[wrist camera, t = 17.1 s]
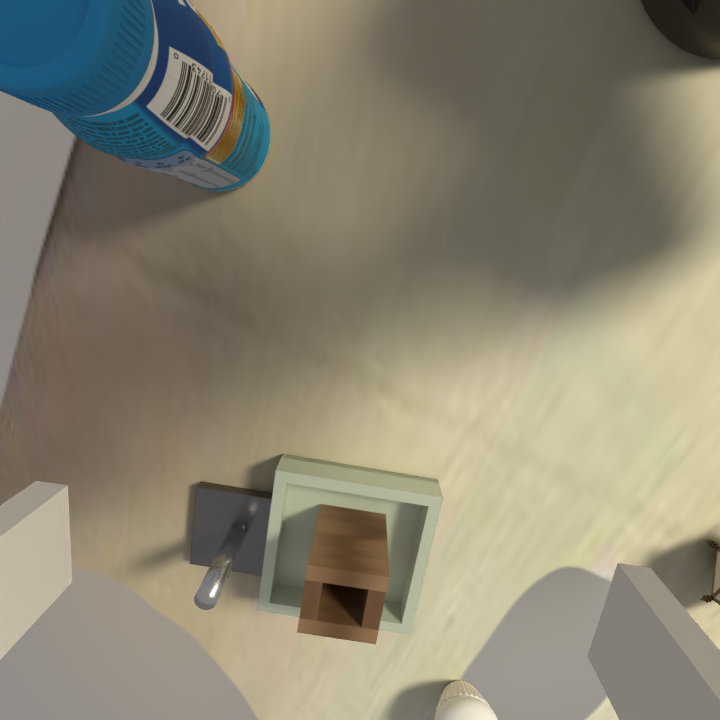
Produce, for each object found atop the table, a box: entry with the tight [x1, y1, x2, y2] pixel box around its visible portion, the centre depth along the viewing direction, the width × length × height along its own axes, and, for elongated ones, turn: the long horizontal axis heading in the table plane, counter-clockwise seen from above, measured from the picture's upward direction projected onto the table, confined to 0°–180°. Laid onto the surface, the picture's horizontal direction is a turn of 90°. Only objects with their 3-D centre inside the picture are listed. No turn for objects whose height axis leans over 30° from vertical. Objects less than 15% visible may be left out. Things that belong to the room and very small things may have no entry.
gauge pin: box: [190, 482, 273, 610], centre depth 37 cm, size 8×8×9 cm
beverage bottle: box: [0, 0, 271, 191], centre depth 24 cm, size 8×8×20 cm
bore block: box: [297, 504, 389, 644], centre depth 37 cm, size 6×6×8 cm
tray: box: [257, 454, 443, 635], centre depth 40 cm, size 14×14×3 cm
